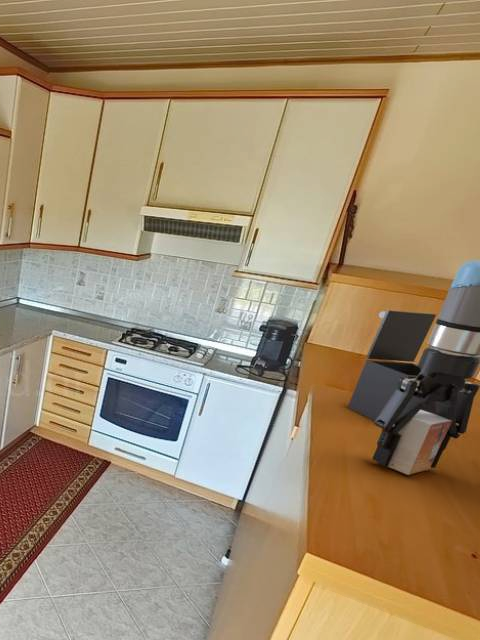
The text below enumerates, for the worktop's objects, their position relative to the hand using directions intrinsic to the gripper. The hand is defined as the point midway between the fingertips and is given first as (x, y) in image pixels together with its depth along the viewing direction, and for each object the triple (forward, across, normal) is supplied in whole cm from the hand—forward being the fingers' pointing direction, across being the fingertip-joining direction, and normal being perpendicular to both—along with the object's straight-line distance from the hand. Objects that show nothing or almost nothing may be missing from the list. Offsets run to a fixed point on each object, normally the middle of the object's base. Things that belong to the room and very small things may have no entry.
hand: (403, 463), depth 94 cm
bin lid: (-18, -22, -30) cm, 41 cm away
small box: (+1, 0, 0) cm, 1 cm away
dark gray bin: (+1, -22, -25) cm, 33 cm away
